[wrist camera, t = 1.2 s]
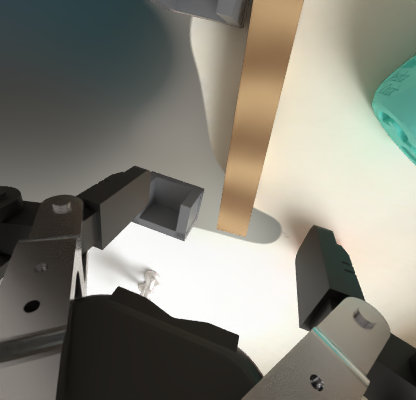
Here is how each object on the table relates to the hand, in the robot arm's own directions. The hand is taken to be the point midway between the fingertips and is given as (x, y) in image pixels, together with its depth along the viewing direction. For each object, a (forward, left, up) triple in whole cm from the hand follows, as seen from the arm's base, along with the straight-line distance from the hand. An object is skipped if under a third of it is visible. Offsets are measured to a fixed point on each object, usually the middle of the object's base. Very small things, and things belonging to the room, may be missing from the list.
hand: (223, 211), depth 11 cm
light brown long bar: (0, 0, -16) cm, 17 cm away
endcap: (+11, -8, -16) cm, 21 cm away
